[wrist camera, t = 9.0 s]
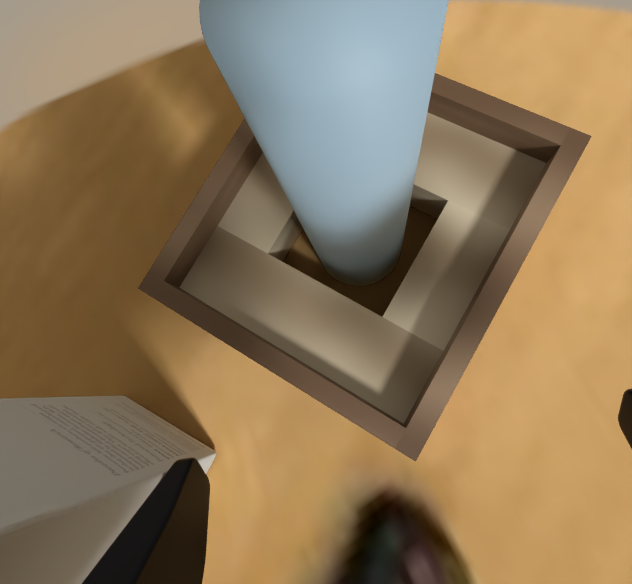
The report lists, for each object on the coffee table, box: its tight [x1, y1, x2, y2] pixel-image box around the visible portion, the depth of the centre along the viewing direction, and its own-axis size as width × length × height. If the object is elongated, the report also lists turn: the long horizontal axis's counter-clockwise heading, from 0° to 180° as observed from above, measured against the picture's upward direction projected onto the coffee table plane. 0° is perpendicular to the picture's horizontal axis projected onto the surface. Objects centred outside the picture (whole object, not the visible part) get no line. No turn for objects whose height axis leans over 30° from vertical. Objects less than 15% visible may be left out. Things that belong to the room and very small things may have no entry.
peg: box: [199, 0, 449, 286], centre depth 14 cm, size 4×4×14 cm
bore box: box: [138, 73, 591, 461], centre depth 18 cm, size 14×13×4 cm
